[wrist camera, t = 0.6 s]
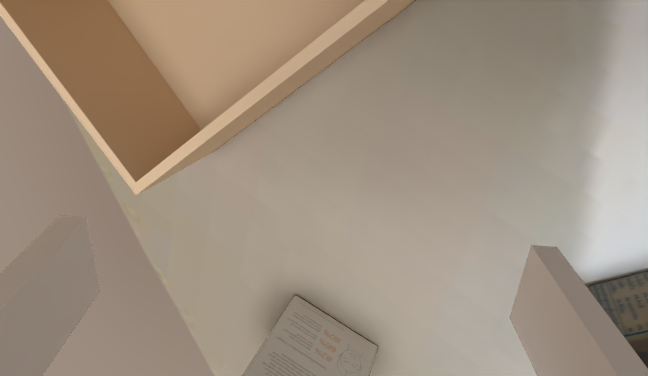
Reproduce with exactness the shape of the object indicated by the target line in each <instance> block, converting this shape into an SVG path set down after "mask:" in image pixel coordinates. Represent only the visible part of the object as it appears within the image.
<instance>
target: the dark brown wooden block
mask: <svg viewBox="0 0 648 376" xmlns="http://www.w3.org/2000/svg"><path fill="white" fill-rule="evenodd" d="M587 288H588V289H589V290H590V292H591V293H592V295H593V296H594V297H595V299H596V300H597V301H598V303H599V304H600V305H601V307H602V308H603V309H604V311H605V312H606V313H607V315H608V316H609V317H610V319H611V320H612V321H613V323H614V324H615V325H616V327H617V328H618V329H619V331H620V332H621V333H622V335H623V336H624V337H625V339H626V340H627V341H628V343H629V344H630V345H631V347H632V348H633V349H634V351H644V352H648V272H643V273H639V274H635V275H631V276H627V277H623V278H619V279H615V280H611V281H608V282H604V283H600V284H596V285H592V286H588V287H587Z"/></svg>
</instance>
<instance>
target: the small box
mask: <svg viewBox="0 0 648 376" xmlns="http://www.w3.org/2000/svg"><path fill="white" fill-rule="evenodd" d="M377 350H378V347H377V346H376V345H374V344H373V343H371V342H369V341H368V340H366V339H365V338H363V337H362V336H360V335H358V334H357V333H355V332H354V331H352V330H350V329H349V328H347V327H346V326H344V325H343V324H341V323H339V322H338V321H336V320H335V319H333V318H332V317H330V316H328V315H327V314H325V313H324V312H322V311H320V310H319V309H317V308H316V307H314V306H312V305H311V304H309V303H308V302H306V301H304V300H303V299H301V298H300V297H298V296H296V295H295V296H294V297H293V298H292V300H291V301H290V303H289V304H288V306H287V307H286V309H285V310H284V312H283V314H282V315H281V317H280V318H279V320H278V321H277V323H276V324H275V326H274V327H273V329H272V330H271V332H270V334H269V335H268V337H267V338H266V340H265V341H264V343H263V344H262V346H261V347H260V349H259V350H258V352H257V353H256V355H255V356H254V358H253V360H252V361H251V363H250V364H249V366H248V367H247V369H246V370H245V372H244V374H243V375H242V376H369V375H370V372H371V369H372V366H373V363H374V359H375V356H376V353H377Z"/></svg>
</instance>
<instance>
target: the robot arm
mask: <svg viewBox="0 0 648 376" xmlns="http://www.w3.org/2000/svg"><path fill="white" fill-rule="evenodd" d="M99 292H100V291H99V285H98V279H97V273H96V267H95V262H94V257H93V250H92V245H91V239H90V233H89V228H88V222H87V217H83V216H68V215H60V216H59V217H58V218H57V219H56V220H55V221H54V222H53V223H52V224H51V225H50V226H48V228H46V229H45V230H44V231H43V232H42V233H41V234H40V235H39V236H38V237H37V238H36V239H35V240H34V241H33V242H32V243H31V244H30V245H29V246H28V247H27V248H26V249H25V250H24V251H23V252H22V253H21V254H20V255H19V256H18V257H17V258H16V259H14V260H13V261H12V262H11V263H10V264H9V265H8V266H7V267H6V269H4V270H3V271H2V272H1V273H0V376H43V374H44V373H45V371H46V370H47V368H48V367H49V366H50V364H51V363H52V361H53V360H54V358H55V357H56V355H57V354H58V352H59V351H60V349H61V348H62V346H63V345H64V344H65V342H66V341H67V339H68V338H69V336H70V334H71V333H72V332H73V330H74V329H75V327H76V326H77V325H78V323H79V322H80V320H81V319H82V317H83V316H84V314H85V313H86V311H87V310H88V308H89V307H90V306H91V304H92V302H93V301H94V300H95V298H96V297H97V295H98V294H99ZM510 319H511V321H512V324H513V326H514V328H515V330H516V332H517V334H518V336H519V338H520V340H521V343H522V345H523V347H524V349H525V351H526V353H527V355H528V357H529V359H530V361H531V364H532V366H533V368H534V370H535V372H536V374H537V376H648V352H644V351H634V349H633V348H632V347H631V345H630V344H629V343H628V341H627V340H626V339H625V337H624V336H623V335H622V333H621V332H620V331H619V329H618V328H617V327H616V325H615V324H614V323H613V321H612V320H611V319H610V317H609V316H608V315H607V313H606V312H605V311H604V309H603V308H602V307H601V305H600V304H599V303H598V301H597V300H596V299H595V297H594V296H593V295H592V293H591V292H590V290H589V289H588V288H587V286H586V285H585V284H584V282H583V281H582V280H581V278H580V277H579V276H578V274H577V273H576V272H575V270H574V269H573V268H572V266H571V265H570V264H569V262H568V261H567V260H566V258H565V257H564V256H563V254H562V253H561V252H560V250H559V249H558V248H557V247H549V246H533V245H531V248H530V252H529V255H528V258H527V262H526V265H525V268H524V272H523V275H522V278H521V282H520V285H519V288H518V292H517V295H516V298H515V302H514V305H513V308H512V312H511V315H510Z"/></svg>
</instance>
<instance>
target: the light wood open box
mask: <svg viewBox="0 0 648 376" xmlns="http://www.w3.org/2000/svg"><path fill="white" fill-rule="evenodd" d="M414 1H415V0H0V16H1V17H2V19H3V20H4V21H5V23H6V24H7V25H8V27H9V28H10V29H11V31H12V32H13V33H14V35H16V37H17V38H18V40H19V41H20V42H21V44H22V45H23V46H24V48H25V49H26V50H27V52H28V53H29V54H30V56H31V57H32V58H33V60H34V61H35V62H36V64H37V65H38V66H39V68H40V69H41V70H42V72H43V73H44V74H45V76H46V77H47V78H48V79H49V81H50V82H51V83H52V85H53V86H54V87H55V88H56V90H57V91H58V93H59V94H60V95H61V97H62V98H63V99H64V101H65V102H66V103H67V105H68V106H69V107H70V109H71V110H72V111H73V112H74V114H75V115H76V116H77V118H78V119H79V120H80V122H81V123H82V124H83V126H84V127H85V128H86V130H87V131H88V132H89V134H90V135H91V136H92V138H93V139H94V140H95V142H96V143H97V144H98V146H99V147H100V148H101V149H102V151H103V152H104V153H105V155H106V156H107V157H108V159H109V160H110V161H111V163H112V164H113V165H114V167H115V168H116V169H117V171H118V172H119V173H120V175H121V176H122V177H123V179H124V180H125V181H126V183H127V184H128V185H129V186H130V188H131V189H132V190H133V192H134V193H135V194H136V195H137V194H139V193H141V192H143V191H145V190H146V189H148V188H150V187H152V186H153V185H155V184H157V183H159V182H161V181H162V180H164V179H166V178H168V177H169V176H171V175H173V174H175V173H177V172H178V171H180V170H182V169H184V168H185V167H187V166H189V165H191V164H192V163H194V162H196V161H198V160H200V159H201V158H203V157H205V156H207V155H208V154H210V153H212V152H214V151H215V150H217V149H218V148H219V147H221V146H222V145H223V144H225V143H226V142H227V141H229V140H230V139H231V138H233V137H234V136H235V135H237V134H238V133H239V132H241V131H242V130H243V129H245V128H246V127H247V126H249V125H250V124H251V123H253V122H254V121H255V120H257V119H258V118H259V117H261V116H262V115H263V114H265V113H266V112H267V111H269V110H270V109H271V108H273V107H274V106H275V105H277V104H278V103H279V102H281V101H282V100H283V99H285V98H286V97H287V96H289V95H290V94H291V93H293V92H294V91H295V90H297V89H298V88H299V87H301V86H302V85H303V84H305V83H306V82H307V81H309V80H310V79H311V78H313V77H314V76H315V75H317V74H318V73H319V72H321V71H322V70H323V69H325V68H326V67H327V66H329V65H330V64H331V63H333V62H334V61H335V60H337V59H338V58H339V57H341V56H342V55H343V54H345V53H346V52H347V51H349V50H350V49H351V48H353V47H354V46H355V45H357V44H358V43H359V42H361V41H362V40H363V39H365V38H366V37H367V36H369V35H370V34H371V33H373V32H374V31H375V30H377V29H378V28H379V27H381V26H382V25H383V24H385V23H386V22H387V21H389V20H390V19H391V18H393V17H394V16H395V15H397V14H398V13H399V12H401V11H402V10H403V9H405V8H406V7H407V6H409V5H410V4H411V3H413V2H414Z"/></svg>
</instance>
